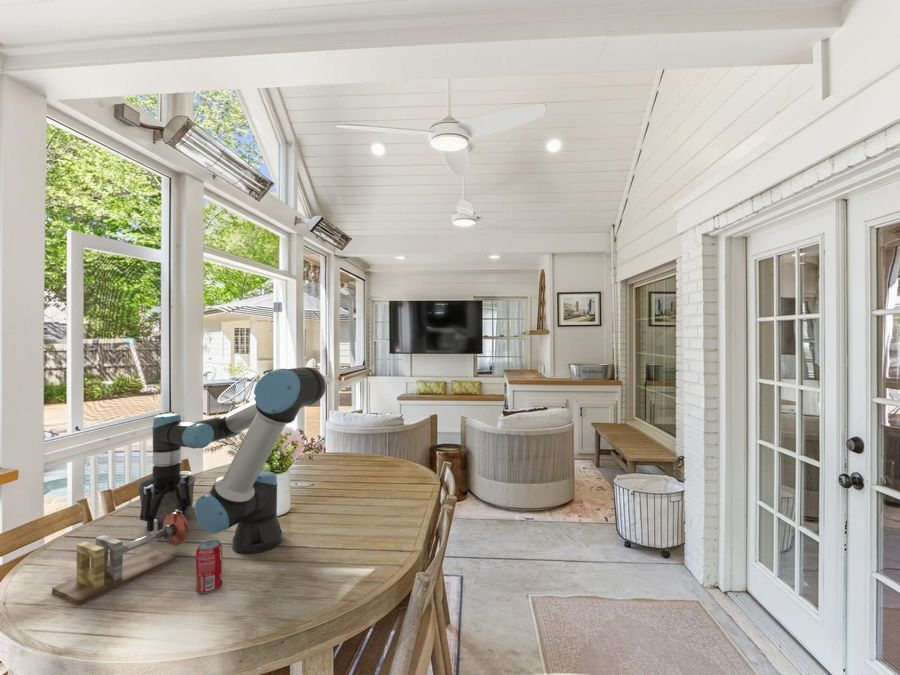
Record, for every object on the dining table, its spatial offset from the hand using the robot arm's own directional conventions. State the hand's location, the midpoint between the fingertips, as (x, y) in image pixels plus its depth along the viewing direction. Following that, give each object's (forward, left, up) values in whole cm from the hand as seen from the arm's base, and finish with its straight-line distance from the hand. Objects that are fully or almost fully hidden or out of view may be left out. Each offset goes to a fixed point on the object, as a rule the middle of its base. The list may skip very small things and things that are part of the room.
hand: (166, 535), depth 142 cm
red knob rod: (-3, +7, -3) cm, 8 cm away
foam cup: (+32, -25, -5) cm, 41 cm away
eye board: (-3, +15, -5) cm, 16 cm away
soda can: (-32, +9, -5) cm, 34 cm away
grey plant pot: (+22, -14, -5) cm, 26 cm away
